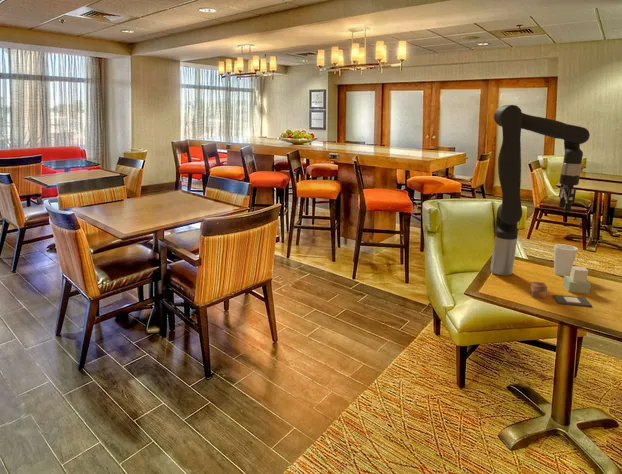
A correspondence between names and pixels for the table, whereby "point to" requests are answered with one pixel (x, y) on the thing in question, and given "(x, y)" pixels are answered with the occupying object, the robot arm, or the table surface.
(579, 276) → the cream cube
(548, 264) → the table surface
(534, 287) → the terracotta cube
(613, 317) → the table surface
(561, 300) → the card
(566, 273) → the foam cup
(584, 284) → the green block
